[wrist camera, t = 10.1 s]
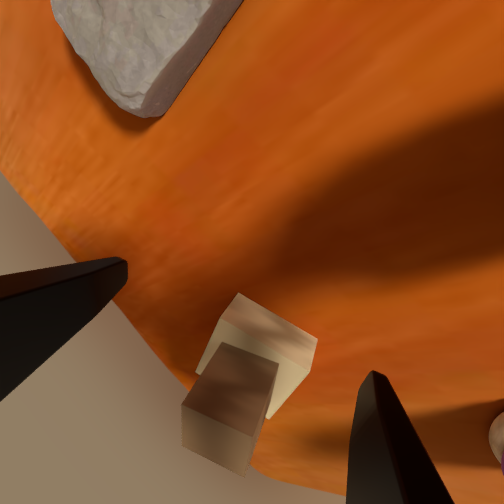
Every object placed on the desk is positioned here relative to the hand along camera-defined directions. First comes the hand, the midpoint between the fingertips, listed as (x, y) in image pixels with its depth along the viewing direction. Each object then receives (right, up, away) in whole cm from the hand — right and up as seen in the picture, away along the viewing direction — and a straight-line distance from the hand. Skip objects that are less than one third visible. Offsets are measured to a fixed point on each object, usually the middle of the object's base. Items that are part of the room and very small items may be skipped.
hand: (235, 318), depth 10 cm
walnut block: (0, -8, +15) cm, 17 cm away
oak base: (+1, -6, +18) cm, 19 cm away
